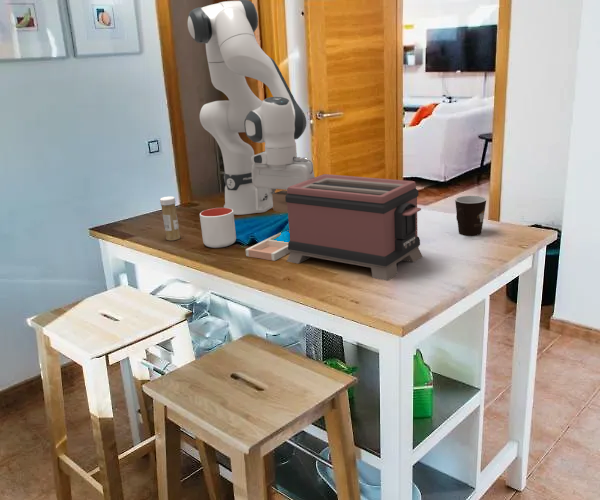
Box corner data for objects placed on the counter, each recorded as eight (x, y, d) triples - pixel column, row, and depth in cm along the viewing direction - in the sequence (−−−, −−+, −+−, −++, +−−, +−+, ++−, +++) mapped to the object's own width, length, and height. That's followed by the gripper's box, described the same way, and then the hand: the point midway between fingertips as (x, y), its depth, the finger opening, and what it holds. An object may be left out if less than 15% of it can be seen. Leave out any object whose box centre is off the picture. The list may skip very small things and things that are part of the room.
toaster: (398, 283, 143) (396, 199, 137) (286, 261, 163) (280, 187, 157) (433, 258, 158) (433, 181, 151) (326, 241, 178) (322, 172, 171)
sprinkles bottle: (182, 238, 190) (176, 197, 186) (169, 242, 188) (162, 200, 184) (177, 235, 194) (171, 195, 190) (163, 238, 192) (157, 197, 187)
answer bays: (284, 236, 184) (284, 230, 184) (312, 240, 179) (311, 234, 178) (246, 256, 170) (245, 249, 169) (274, 260, 164) (274, 253, 164)
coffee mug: (472, 226, 180) (473, 194, 177) (491, 233, 173) (492, 199, 170) (440, 233, 176) (440, 200, 173) (458, 241, 169) (458, 206, 166)
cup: (241, 238, 186) (238, 207, 183) (229, 249, 177) (225, 216, 174) (211, 238, 189) (207, 207, 185) (198, 248, 179) (193, 216, 176)
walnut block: (283, 206, 178) (282, 190, 176) (297, 208, 175) (296, 191, 173) (273, 210, 174) (272, 194, 172) (287, 212, 171) (286, 195, 169)
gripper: (318, 155, 166) (321, 204, 170) (260, 153, 177) (264, 198, 182) (305, 160, 161) (308, 209, 166) (246, 157, 173) (251, 203, 177)
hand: (284, 204), depth 174 cm, fingers closed on walnut block, 5 cm apart
